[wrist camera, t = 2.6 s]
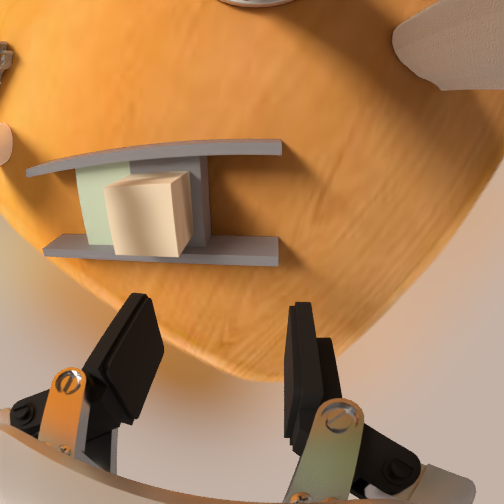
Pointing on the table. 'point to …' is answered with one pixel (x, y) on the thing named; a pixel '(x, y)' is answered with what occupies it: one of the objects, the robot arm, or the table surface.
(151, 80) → the table surface
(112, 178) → the pad
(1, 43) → the egg carton
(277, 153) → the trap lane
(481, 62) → the paper towel roll
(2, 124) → the foam cup
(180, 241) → the maple block
